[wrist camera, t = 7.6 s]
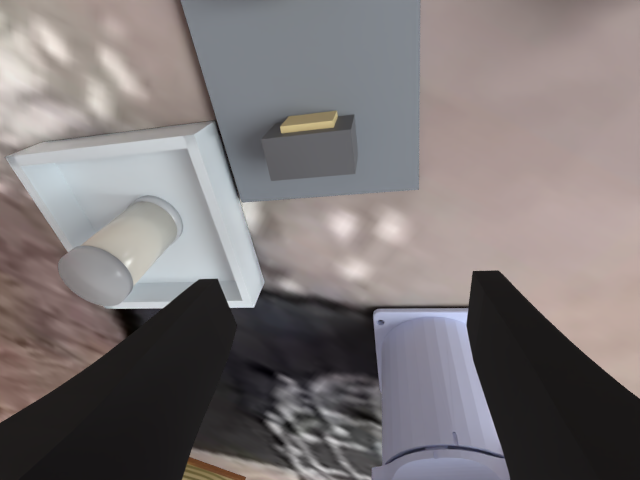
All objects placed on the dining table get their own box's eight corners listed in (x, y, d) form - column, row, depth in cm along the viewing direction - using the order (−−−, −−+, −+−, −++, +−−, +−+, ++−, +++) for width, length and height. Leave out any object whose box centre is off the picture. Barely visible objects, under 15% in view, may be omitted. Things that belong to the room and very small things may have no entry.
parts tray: (264, 282, 24) (253, 307, 22) (126, 285, 26) (105, 308, 24) (215, 120, 18) (194, 134, 16) (42, 142, 20) (4, 157, 18)
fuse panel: (417, 184, 19) (423, 212, 16) (244, 197, 21) (226, 224, 18) (419, -214, 11) (432, -281, 9) (147, -133, 13) (91, -167, 10)
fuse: (189, 242, 22) (136, 307, 17) (142, 241, 23) (78, 304, 18) (173, 195, 21) (109, 253, 16) (123, 195, 21) (45, 252, 16)
